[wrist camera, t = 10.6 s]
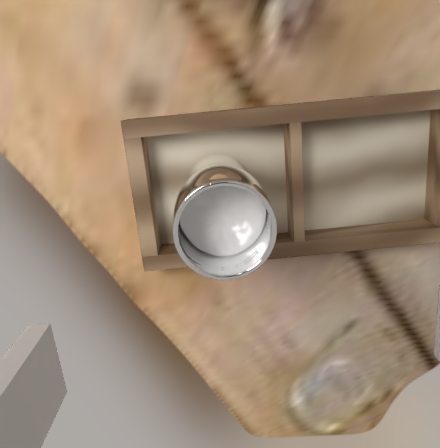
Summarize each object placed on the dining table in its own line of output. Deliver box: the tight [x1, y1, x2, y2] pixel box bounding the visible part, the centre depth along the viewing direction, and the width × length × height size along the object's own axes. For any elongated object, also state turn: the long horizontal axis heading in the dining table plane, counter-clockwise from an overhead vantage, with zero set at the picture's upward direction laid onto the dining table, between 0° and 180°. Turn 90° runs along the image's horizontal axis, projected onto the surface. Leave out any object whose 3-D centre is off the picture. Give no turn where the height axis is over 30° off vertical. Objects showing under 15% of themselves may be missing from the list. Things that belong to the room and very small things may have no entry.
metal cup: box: [172, 154, 277, 280], centre depth 32 cm, size 7×7×15 cm
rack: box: [121, 90, 440, 271], centre depth 39 cm, size 14×30×4 cm, turn 95°
